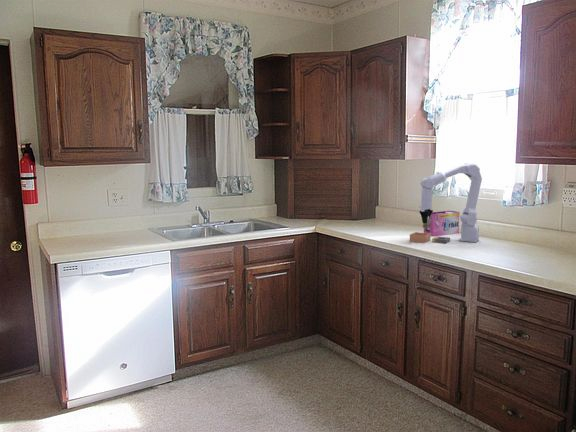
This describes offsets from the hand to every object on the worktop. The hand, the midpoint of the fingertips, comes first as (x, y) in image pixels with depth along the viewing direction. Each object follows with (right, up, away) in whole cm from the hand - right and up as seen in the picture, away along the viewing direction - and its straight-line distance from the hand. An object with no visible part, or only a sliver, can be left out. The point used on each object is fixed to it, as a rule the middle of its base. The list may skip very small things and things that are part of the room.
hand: (425, 222), depth 289 cm
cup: (-3, -10, +2) cm, 11 cm away
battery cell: (0, -3, 0) cm, 3 cm away
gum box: (+16, -8, +25) cm, 30 cm away
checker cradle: (+9, -11, 0) cm, 14 cm away
